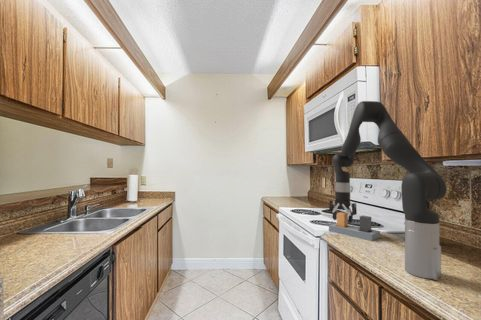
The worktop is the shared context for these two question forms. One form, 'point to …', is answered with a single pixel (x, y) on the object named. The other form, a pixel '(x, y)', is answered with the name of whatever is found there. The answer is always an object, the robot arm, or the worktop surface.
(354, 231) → the slate power strip
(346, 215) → the orange plug
